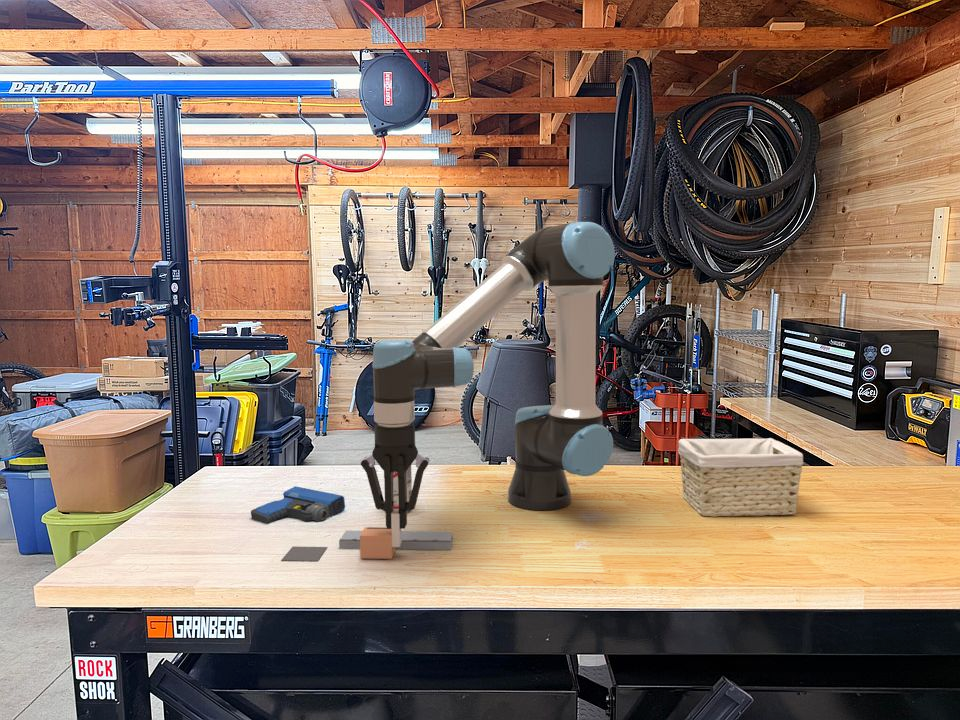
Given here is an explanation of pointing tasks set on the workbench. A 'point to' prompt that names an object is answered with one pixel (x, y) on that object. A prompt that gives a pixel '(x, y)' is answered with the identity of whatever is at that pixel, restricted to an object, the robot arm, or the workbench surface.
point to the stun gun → (301, 506)
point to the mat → (304, 554)
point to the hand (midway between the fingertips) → (396, 544)
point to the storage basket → (740, 476)
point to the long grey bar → (405, 540)
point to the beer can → (395, 487)
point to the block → (376, 543)
